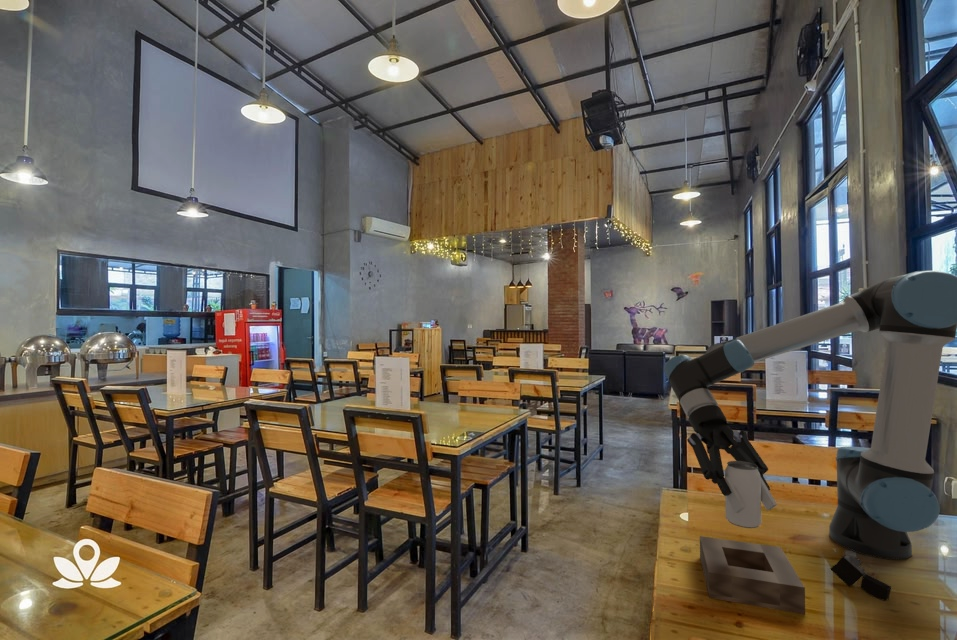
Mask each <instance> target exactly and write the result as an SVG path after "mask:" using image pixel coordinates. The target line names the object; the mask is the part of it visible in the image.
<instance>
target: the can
mask: <svg viewBox="0 0 957 640" xmlns="http://www.w3.org/2000/svg"><path fill="white" fill-rule="evenodd" d="M726 464H727V466H726V468H725V469H724V478H725V477H728V476H729V478H730V479H731V481H732V483H733V485H734V487H735V489H736V491H737V493H738V495H739V496H740V498H741V500H742V502H743V504H744V506H745V508H744V509H743V510H741V511H740V512H739V513H735V512H734V510H733V508H732V506H731V504H730V502H729V500H728V498H727V496H724V498H725V499H724V502H725V503H724V504H725V505H724V507H725V518H726V520H727V521H728V522H729V523H730V524H731V525H734V526H737V527H740V528H745V529H756V528H758V527H760V526H761V525H762V501H761V477H760V473H759V471H758V466H757V465H755V464H752V463H749V462H743V461H736V460H730V461H728V462H726Z"/></svg>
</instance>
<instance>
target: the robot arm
mask: <svg viewBox="0 0 957 640" xmlns="http://www.w3.org/2000/svg"><path fill="white" fill-rule="evenodd" d="M875 330H878V331H879V332H878V333H879V334H881V336H882V337H883V338H885V340H886V345H885V352H884V359H883V367H882V372H881V373H882V374H881V378H880V379H881V380H880V386H879V393H878V399H877V406H876V411H875V418H874V425H873V431H872V438H871V445H870V447H863V446H862V447H861V446H841V447H839V448H838V449H837V451H836V457H835V461H836V488H837V489H836V491H837V495H836V496H837V507H836V509H835V511H834V514H833V516H832V519H831V521H830V523H829V529H828V531H829V537H830V539H831V540H832V541H833V542H834V543H836V544H838V545H840V546H841V547H843V548H845V549H847V550H850V551H853V552H856V553H859V554H862V555H865V556H870V557H872V558H873V557H874V558H880V559H887V560H905V559H909V558H910V557H911V556H912V555H913V548H912V547H913V545H912V542H911V539H910V537H909V535H908V533H913V532H919V531H922V530H924V529H927V528H929V527H930V526H932V525H934V523H935V522H936V520H937V519H938V517H939V515H940V510H941V509H940V508H941V507H940V502H939V500H938V497H937V496H936V494H935V493H934V492H933V490H932V487H933V481H934V474H935V470H934V469H933V467H932V466H931V465H930V464H929V463H928V461H927V460H926V457H927V450H928V444H929V439H930V438H929V436H930V430H931V425H932V417H933V411H934V406H935V399H936V393H937V386H938V380H939V374H940V368H941V367H940V366H941V360H942V354H943V348H944V346H946V345H947V344H949V343H951V342H953V341H955V339H956V334H957V276H956V275H954V274H951V273H949V272H945V271H940V270H917V271H912V272H909V273H906V274H901V275H897V276H892V277H889V278H887V279H884V280H882V281H880V282H877V283H875V284H874V285H872V286H869V287H867V288H865V289H863V290H860V291H857V292H855V293H852V294H849V295H846V296H845V297H844V299H843V301H842V302H841V301H840V302H839V303H835V304H832V305H830V306H827V307H824V308H821V309H817V310H814V311H812V312H809V313H806V314H803V315H800V316H797V317H794V318H790V319H788V320H786V321H785V320H784V321H783V322H779V323H776V324H773V325H770V326H767V327H765V328H762V329H758V330H756V331H753V332H750V333H747V334H744V335H740V336H737V337H735V338H731V339H729V340H725V341H723V342H717V343H714V344H711V345H710V346H709V347H707V348H706V351H705V353H704V354H702V355H700V356H698V357H696V358H693V359H692V358H691V357H690V356H689V355H686V354H681V355H678V356H677V355H675V356H673V357H671V358H669V359H668V360H667V361H666V362H665V364H664V366H663V371H664V374H665V375H666V378H667V382H668V384H669V386H670V387H671V389H672V391H673V393H674V394H675V396H676V398H677V400H678V401H679V404H680V406H681V407H682V410H683V412H684V414H685V415H686V417H687V419H688V422H689V424H690V425H691V427H692V430H693V431H694V432H692V433H691V434H690V435H689V436H688V438H687V442H688V444H689V445H690V446H691V447H692V449H693V452H694V455H695V457H696V459H697V462H698V465H699V467H700V470H701V472H702V475H703V477H704V478H705V480H709V481H710V480H711V482H712V483H713V484H716V485H717V486H718V488H719V490H720V492H721V494H722V495H723V496H724V497H725V496H727V498H728V500H729V502H730V504H731V506H732V508H733V510H734V512H735V513H739V512H740V511H741V510H743V509H744V508H745V506H744V504H743V502H742V500H741V498H740V496H739V495H738V493H737V491H736V489H735V487H734V485H733V483H732V481H731V479H730V478H729V476H728V477H725V470H724V466H723V462H722V456H721V452H720V451H721V450H724V452H726V454H729V455H730V456H731V457H732V458H733V459H734V461H743V462H749V463H752V464H755V465H757V466H758V471H759V473H760V477H761V504H763V507H764V508H765V510H766V511H771V510H772V509H774V508H775V507H776V506H778V503H777V501H776V499H774V497H773V495H772V493H771V488H770V486H769V484H768V483H767V480H766V479H765V477H764V475H765V473H767V472H768V471H769V467H768V466H767V465H766V463H765V462H764V460H763V458H762V457H761V456H760V454H759V453H758V451H757V450H756V449H755V447H754V446H753V445H752V443H751V441H750V440H749V438H748V434H747V432H746V431H745V430H740V432H738V431H734V429H732V428H731V427H730V426H729V425H728V421H727V417H726V415H725V414H724V413H723V411H722V409H721V407H720V406H719V404H718V403H719V402H717V400H716V398H715V396H714V395H713V393H712V392H711V390H710V388H709V387H711V386H713V385H715V384H717V383H719V382H721V381H725V380H726V379H729V378H731V377H734V376H736V375H738V374H740V373H741V374H742V373H744V372H745V371H746V370H748V369H751V368H752V367H754V366H755V363H757V362H760V361H763V360H767V359H770V358H773V357H776V356H777V357H778V356H780V355H782V354H786V353H789V352H793V351H796V350H799V349H802V348H805V347H806V348H807V347H808V346H812V345H816V344H818V343H822V342H825V341H828V340H832V339H835V338H838V337H841V336H845V335H848V334H851V333H854V332H862V333H869V332H872V331H875ZM705 446H706V448H705Z"/></svg>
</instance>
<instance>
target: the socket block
mask: <svg viewBox="0 0 957 640" xmlns="http://www.w3.org/2000/svg"><path fill="white" fill-rule="evenodd" d="M699 558H700V564H701V568H702V572H703V577H704V581H705V585H706V589H707V590H706V591H707V595H708V598H710V599H716V600H719V601H720V600H721V601H728V602H732V603H737V604H743V605H749V606H755V607H760V608H765V609H767V608H768V609H772V610H777V609H778V610H779V611H782V610H783V612H788V611H789V612H790V613H794V614H801V615H806V587H805V585H804V584H803V582H802V580H801V578H800V577H799V575H798V573H797V572H796V571H795V568H794V567H793V565H792V564H791V562H790V560H789V559H788V557H787V555H786V553H785V552H784V550H783V549H782V547H781V546H775V545H768V544H760V543H752V542H745V541H739V540H730V539H724V538H717V537H710V536H702V535H699Z"/></svg>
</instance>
